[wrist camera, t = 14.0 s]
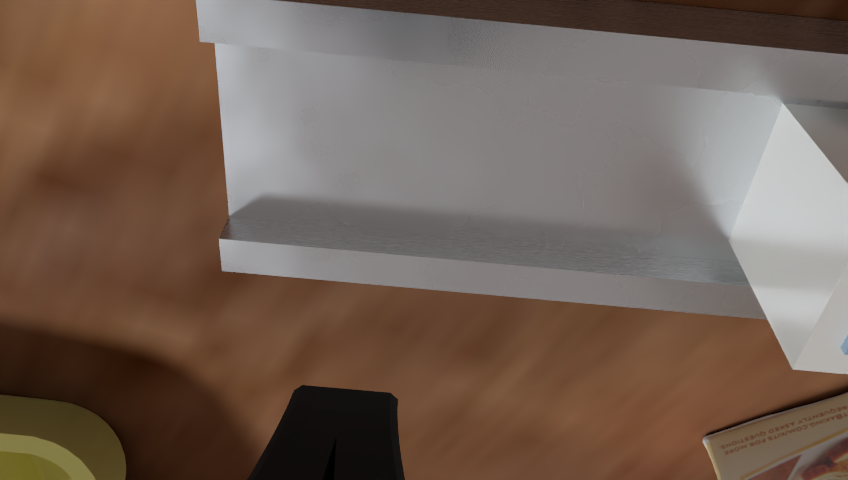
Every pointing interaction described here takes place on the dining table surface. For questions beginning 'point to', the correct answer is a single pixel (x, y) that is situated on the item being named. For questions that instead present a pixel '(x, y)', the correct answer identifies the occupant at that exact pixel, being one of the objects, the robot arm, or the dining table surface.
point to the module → (801, 236)
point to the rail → (507, 142)
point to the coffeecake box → (786, 445)
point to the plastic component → (56, 442)
